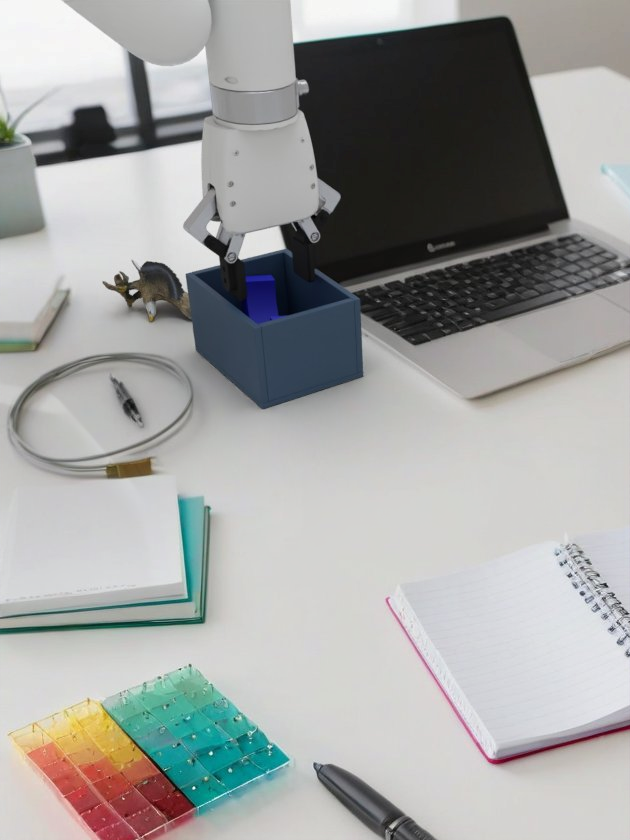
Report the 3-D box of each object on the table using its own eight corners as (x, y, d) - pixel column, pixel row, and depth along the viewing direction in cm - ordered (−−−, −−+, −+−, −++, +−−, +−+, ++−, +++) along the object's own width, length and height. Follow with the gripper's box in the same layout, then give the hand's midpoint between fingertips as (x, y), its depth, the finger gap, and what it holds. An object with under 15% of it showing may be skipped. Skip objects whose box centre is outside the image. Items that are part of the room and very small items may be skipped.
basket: (262, 409, 111) (254, 328, 106) (195, 350, 120) (184, 273, 115) (363, 376, 117) (360, 298, 112) (292, 322, 126) (286, 248, 121)
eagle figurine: (103, 320, 122) (183, 313, 120) (99, 252, 122) (178, 244, 120) (139, 328, 129) (214, 322, 128) (135, 264, 129) (210, 257, 127)
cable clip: (318, 376, 114) (320, 320, 111) (273, 380, 112) (274, 322, 109) (284, 327, 123) (285, 274, 120) (242, 330, 121) (242, 276, 118)
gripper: (318, 77, 110) (328, 253, 120) (144, 105, 101) (171, 293, 111) (360, 97, 105) (367, 279, 115) (182, 129, 96) (207, 323, 106)
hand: (271, 285), depth 113 cm, fingers open, 6 cm apart
